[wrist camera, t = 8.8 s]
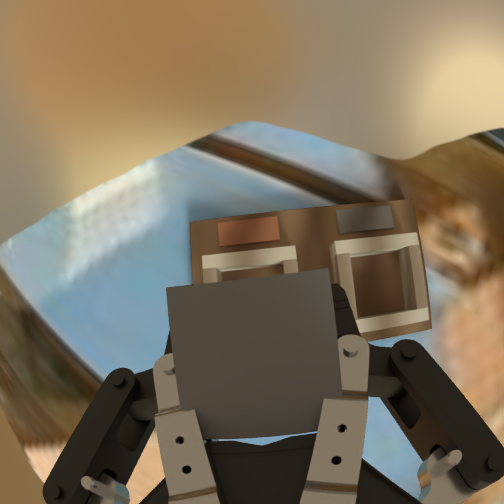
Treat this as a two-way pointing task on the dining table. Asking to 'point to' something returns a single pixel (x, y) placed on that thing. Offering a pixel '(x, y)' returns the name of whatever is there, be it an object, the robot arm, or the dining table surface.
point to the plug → (256, 353)
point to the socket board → (328, 257)
